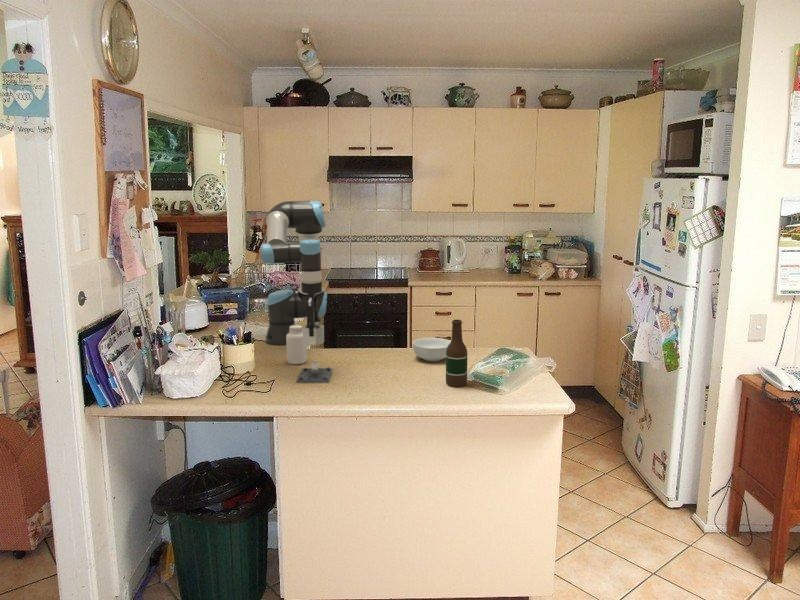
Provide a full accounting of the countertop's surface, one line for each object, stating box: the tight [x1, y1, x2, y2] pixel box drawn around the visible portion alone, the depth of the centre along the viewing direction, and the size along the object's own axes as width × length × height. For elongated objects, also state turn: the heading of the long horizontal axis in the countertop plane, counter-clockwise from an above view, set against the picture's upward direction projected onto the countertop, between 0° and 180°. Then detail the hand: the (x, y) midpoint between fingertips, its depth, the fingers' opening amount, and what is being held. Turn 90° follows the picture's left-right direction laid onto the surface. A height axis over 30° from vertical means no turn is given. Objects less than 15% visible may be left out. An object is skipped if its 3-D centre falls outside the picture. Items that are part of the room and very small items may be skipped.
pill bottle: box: [286, 324, 308, 365], centre depth 259 cm, size 8×8×15 cm
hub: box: [302, 323, 325, 346], centre depth 238 cm, size 8×8×6 cm
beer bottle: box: [445, 319, 468, 388], centre depth 229 cm, size 8×8×24 cm
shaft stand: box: [296, 361, 334, 384], centre depth 241 cm, size 14×12×6 cm
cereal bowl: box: [412, 337, 451, 362], centre depth 262 cm, size 17×17×7 cm
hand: (313, 341), depth 239 cm, fingers closed on hub, 7 cm apart
